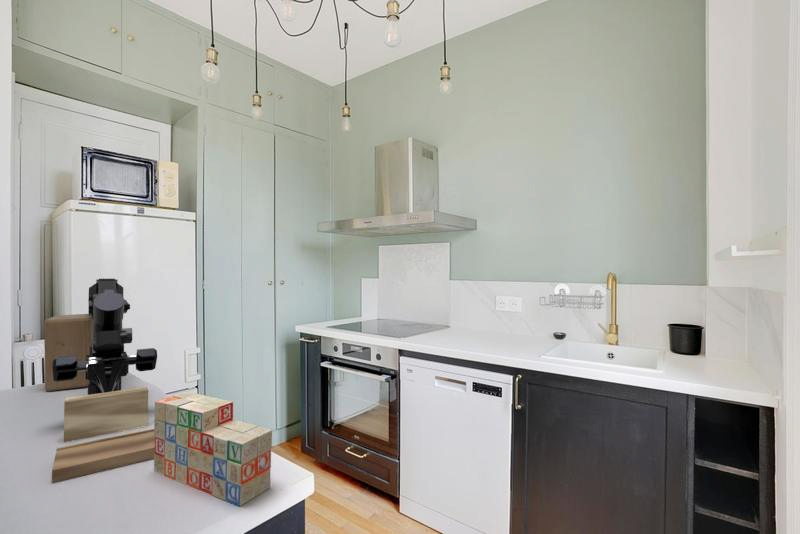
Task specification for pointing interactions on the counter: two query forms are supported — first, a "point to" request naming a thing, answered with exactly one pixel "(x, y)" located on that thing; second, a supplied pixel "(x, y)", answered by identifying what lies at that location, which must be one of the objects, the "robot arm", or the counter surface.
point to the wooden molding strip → (103, 454)
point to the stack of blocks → (211, 447)
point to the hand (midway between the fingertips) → (108, 396)
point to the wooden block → (67, 346)
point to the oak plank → (105, 413)
